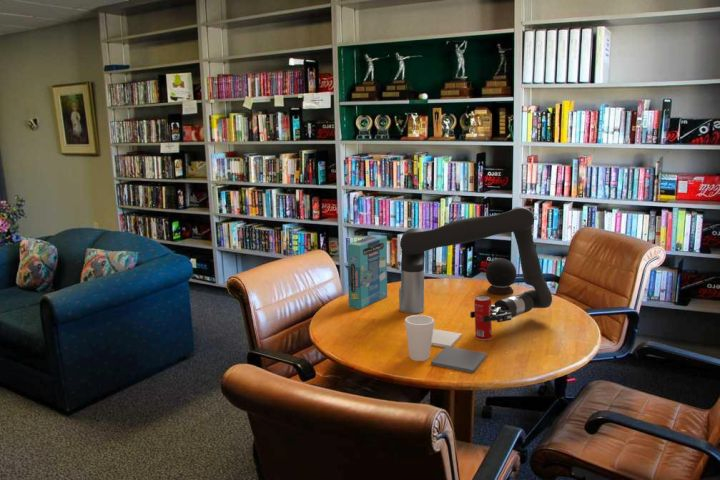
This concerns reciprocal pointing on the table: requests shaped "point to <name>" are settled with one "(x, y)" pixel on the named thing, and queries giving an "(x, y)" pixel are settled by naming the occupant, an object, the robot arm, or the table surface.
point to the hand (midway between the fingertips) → (477, 317)
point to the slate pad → (459, 359)
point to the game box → (367, 271)
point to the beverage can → (482, 309)
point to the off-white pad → (444, 338)
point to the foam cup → (419, 336)
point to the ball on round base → (500, 276)
